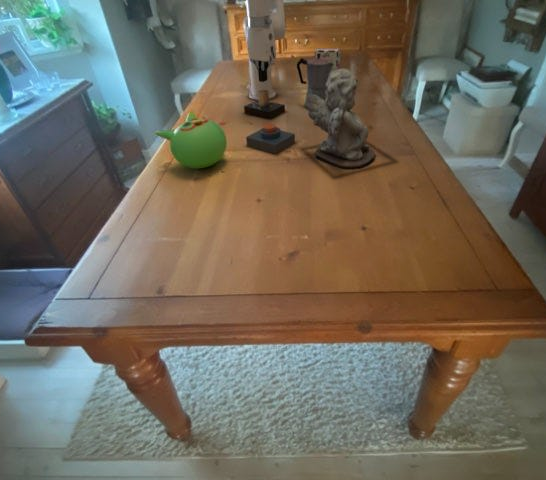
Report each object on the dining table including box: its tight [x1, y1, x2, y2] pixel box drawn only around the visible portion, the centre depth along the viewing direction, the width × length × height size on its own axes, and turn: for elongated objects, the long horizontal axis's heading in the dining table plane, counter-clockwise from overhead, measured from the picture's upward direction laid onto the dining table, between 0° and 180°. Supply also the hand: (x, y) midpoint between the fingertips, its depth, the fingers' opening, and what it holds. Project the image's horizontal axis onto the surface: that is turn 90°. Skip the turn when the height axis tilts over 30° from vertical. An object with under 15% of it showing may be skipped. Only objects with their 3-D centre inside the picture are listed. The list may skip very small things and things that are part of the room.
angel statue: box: [306, 67, 377, 170], centre depth 105 cm, size 22×22×25 cm
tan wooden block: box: [258, 90, 270, 107], centre depth 142 cm, size 4×4×6 cm
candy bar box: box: [314, 48, 341, 91], centre depth 163 cm, size 11×5×16 cm, turn 68°
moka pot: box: [296, 53, 334, 108], centre depth 143 cm, size 10×15×20 cm, turn 78°
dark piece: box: [245, 126, 296, 155], centre depth 121 cm, size 13×11×5 cm
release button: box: [263, 123, 277, 133], centre depth 119 cm, size 4×4×2 cm
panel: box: [243, 100, 286, 120], centre depth 145 cm, size 14×10×3 cm
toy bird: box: [155, 110, 228, 170], centre depth 108 cm, size 18×17×15 cm
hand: (263, 80), depth 130 cm, fingers closed
